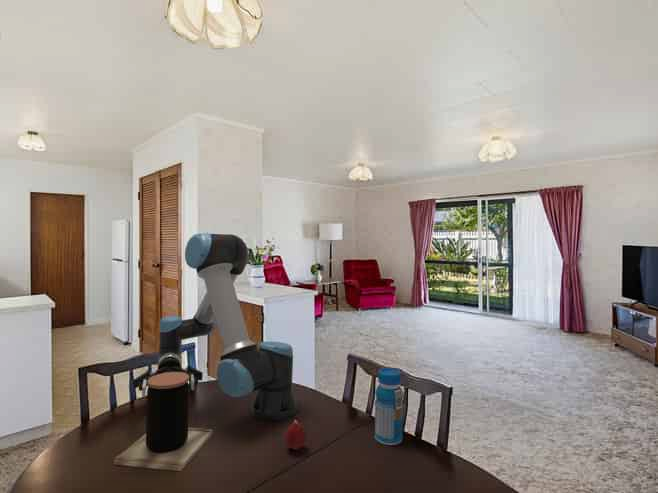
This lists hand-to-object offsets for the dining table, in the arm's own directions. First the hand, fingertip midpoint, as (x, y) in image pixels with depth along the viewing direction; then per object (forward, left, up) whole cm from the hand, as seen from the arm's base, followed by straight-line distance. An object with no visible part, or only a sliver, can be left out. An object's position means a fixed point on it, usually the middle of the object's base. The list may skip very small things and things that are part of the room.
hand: (168, 388), depth 108 cm
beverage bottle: (-66, -7, -13) cm, 67 cm away
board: (-5, +8, -13) cm, 16 cm away
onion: (-40, +3, -13) cm, 42 cm away
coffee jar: (-5, +8, -12) cm, 15 cm away
